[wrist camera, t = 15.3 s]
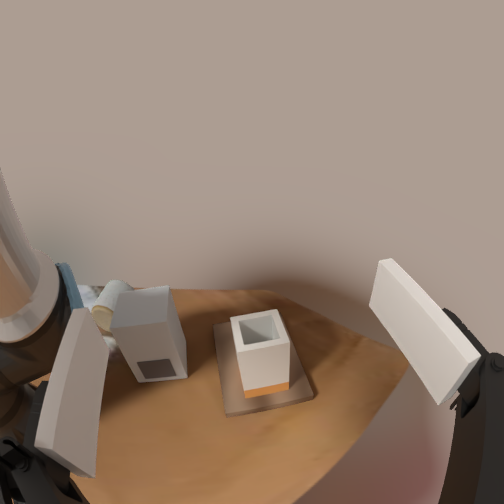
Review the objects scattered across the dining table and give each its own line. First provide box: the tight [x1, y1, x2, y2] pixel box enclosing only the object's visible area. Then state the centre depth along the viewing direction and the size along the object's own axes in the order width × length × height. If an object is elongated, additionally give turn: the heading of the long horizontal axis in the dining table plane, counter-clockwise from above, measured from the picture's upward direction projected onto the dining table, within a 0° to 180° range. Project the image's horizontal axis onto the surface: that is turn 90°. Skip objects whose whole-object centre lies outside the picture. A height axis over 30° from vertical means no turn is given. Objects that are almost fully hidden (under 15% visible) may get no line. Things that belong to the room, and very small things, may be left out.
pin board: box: [213, 313, 314, 417], centre depth 42 cm, size 12×18×5 cm, turn 11°
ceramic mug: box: [92, 280, 134, 332], centre depth 50 cm, size 11×8×8 cm
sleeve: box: [230, 309, 290, 398], centre depth 36 cm, size 6×6×10 cm
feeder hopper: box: [109, 285, 188, 383], centre depth 41 cm, size 8×8×12 cm
